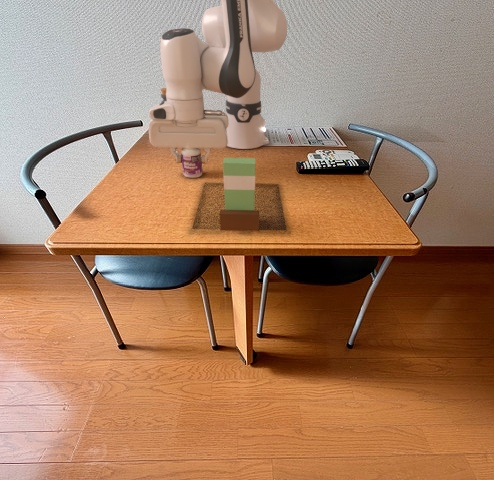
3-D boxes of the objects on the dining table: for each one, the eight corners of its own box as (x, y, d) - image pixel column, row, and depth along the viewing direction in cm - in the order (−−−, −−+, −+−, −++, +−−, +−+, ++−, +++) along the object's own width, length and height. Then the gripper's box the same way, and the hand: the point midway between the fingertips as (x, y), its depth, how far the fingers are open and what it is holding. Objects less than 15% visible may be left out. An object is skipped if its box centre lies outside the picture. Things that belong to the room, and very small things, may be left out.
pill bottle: (184, 179, 79) (179, 144, 74) (182, 171, 84) (178, 138, 78) (203, 177, 81) (200, 143, 75) (201, 170, 85) (198, 137, 79)
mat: (204, 184, 78) (203, 168, 75) (278, 185, 78) (279, 169, 75) (191, 232, 60) (189, 213, 57) (286, 233, 61) (289, 214, 58)
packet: (226, 219, 63) (223, 157, 55) (253, 219, 63) (255, 158, 55) (225, 225, 61) (222, 162, 53) (253, 226, 61) (255, 163, 53)
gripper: (228, 107, 74) (230, 158, 83) (149, 105, 74) (158, 157, 82) (227, 113, 69) (228, 167, 78) (141, 111, 69) (152, 166, 77)
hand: (192, 162), depth 80 cm, fingers open, 6 cm apart
